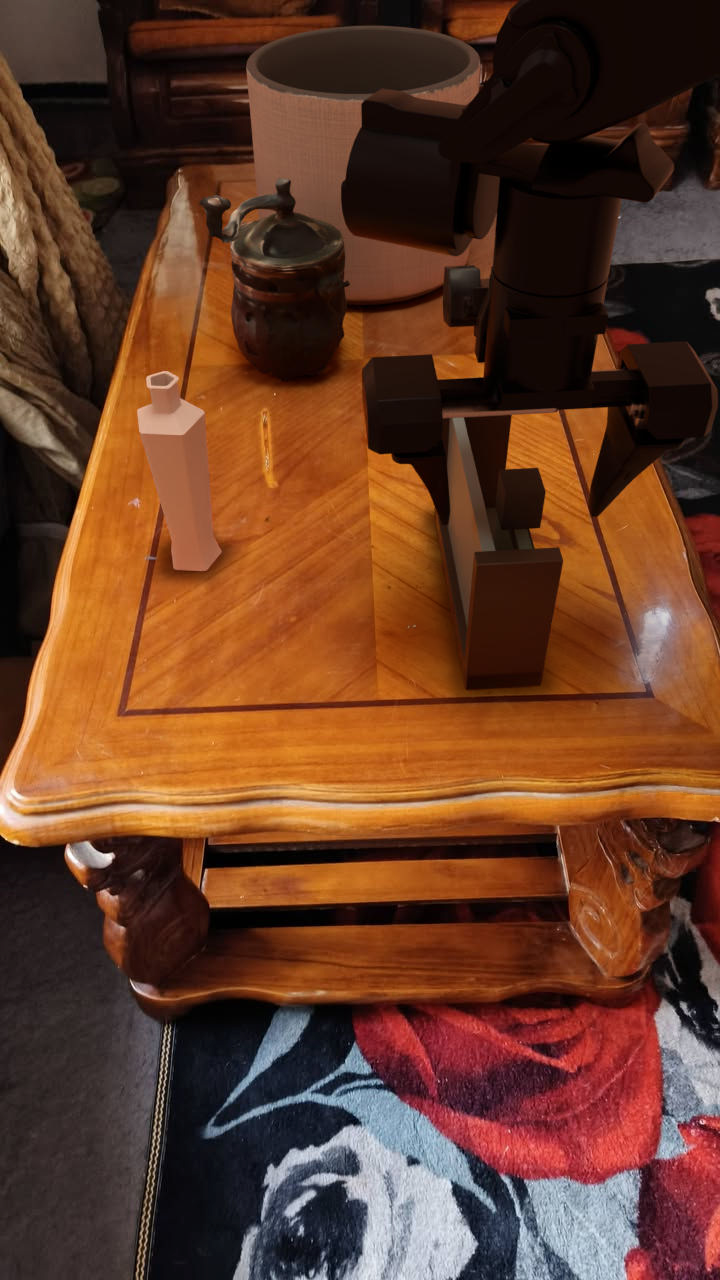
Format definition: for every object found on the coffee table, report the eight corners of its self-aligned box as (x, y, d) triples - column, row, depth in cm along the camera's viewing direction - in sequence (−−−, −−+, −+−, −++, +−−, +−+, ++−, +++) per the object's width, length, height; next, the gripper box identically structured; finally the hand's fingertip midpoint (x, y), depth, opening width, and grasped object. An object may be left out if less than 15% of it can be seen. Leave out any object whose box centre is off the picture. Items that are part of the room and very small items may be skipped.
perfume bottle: (230, 536, 74) (204, 361, 63) (219, 575, 71) (189, 398, 60) (172, 533, 74) (136, 359, 63) (158, 571, 71) (118, 395, 60)
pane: (513, 578, 68) (531, 443, 59) (531, 653, 63) (554, 517, 54) (479, 580, 68) (492, 446, 59) (495, 655, 63) (512, 520, 54)
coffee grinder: (187, 393, 88) (153, 192, 75) (263, 319, 97) (244, 129, 84) (311, 424, 84) (298, 217, 71) (378, 344, 93) (377, 148, 80)
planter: (448, 213, 114) (457, 18, 99) (488, 304, 98) (506, 88, 84) (258, 227, 112) (239, 30, 98) (269, 321, 97) (248, 104, 82)
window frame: (497, 512, 75) (510, 389, 67) (540, 685, 63) (563, 560, 55) (434, 516, 75) (439, 393, 67) (465, 690, 63) (476, 565, 55)
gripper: (687, 196, 53) (634, 433, 65) (353, 212, 53) (359, 448, 64) (757, 290, 46) (683, 540, 57) (366, 309, 45) (370, 558, 56)
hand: (518, 516), depth 59 cm, fingers open, 9 cm apart
